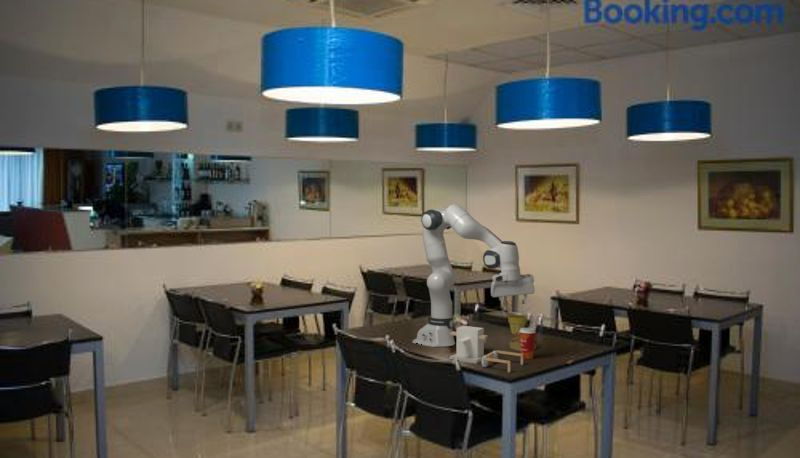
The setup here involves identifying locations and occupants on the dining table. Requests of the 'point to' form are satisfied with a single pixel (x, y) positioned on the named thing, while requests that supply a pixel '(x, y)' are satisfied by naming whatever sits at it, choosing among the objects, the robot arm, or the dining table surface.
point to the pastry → (517, 342)
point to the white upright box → (469, 344)
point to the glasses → (494, 358)
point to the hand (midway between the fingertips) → (513, 304)
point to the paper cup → (527, 342)
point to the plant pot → (516, 322)
